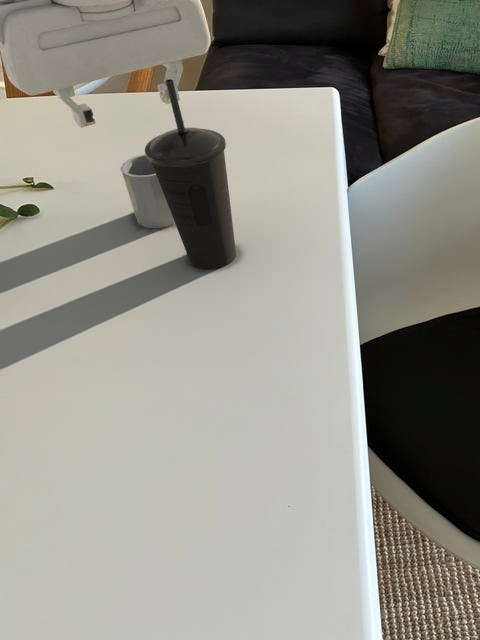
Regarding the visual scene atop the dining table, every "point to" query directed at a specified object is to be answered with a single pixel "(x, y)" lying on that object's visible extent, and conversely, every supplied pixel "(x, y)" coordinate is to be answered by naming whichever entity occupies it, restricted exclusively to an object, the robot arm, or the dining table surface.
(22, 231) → the dining table surface
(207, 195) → the drinking cup
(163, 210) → the grey faceted cup
